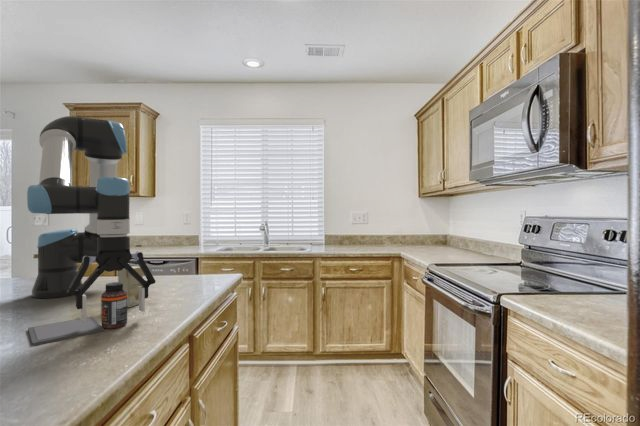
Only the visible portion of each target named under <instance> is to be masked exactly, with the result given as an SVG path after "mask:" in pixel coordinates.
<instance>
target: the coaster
mask: <svg viewBox="0 0 640 426" xmlns="http://www.w3.org/2000/svg"><path fill="white" fill-rule="evenodd" d="M86 317H87V322H82V321H81V317H80V318H76V319H69V320H65V321H59V322H53V323H48V324H41V325H36V326H30V327H27V331H28V335H29V338H30V341H31V344H32V346H38V345H43V344H47V343H52V342H57V341H63V340H68V339H72V338H76V337H77V336H78V337H81V336H87V335H91V334H96V333H101V332H104V331H105V328H103V327H102V324H100V323H99V322H98V321H97V320H96V318H95V317H93V316H86ZM86 334H87V335H86Z"/></svg>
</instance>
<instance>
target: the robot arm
mask: <svg viewBox="0 0 640 426" xmlns="http://www.w3.org/2000/svg"><path fill="white" fill-rule="evenodd" d="M38 141H39V142H38V143H39V146H40V148H42V149H41V150H42V152H41V159H40V170H39V171H40V172H39V178H38V179H39V181H38V184H31V185H29V186H28V187H27V191H26V193H27V195H26V199H27V201H26V203H27V208H28V209H27V210H28V212H30V213H31V214H42V215H43V214H44V215H45V214H46V215H57V214H58V215H60V214H61V215H62V214H63V215H64V214H66V215H67V214H73V215H74V214H87V215H88V214H89V215H88V216H89V219H88V222H89V223H88V224H87V225H86V226H84V231H82V232H79V231H78V228H69V229H67V228H66V229H60V230H53V231H47V232H43V233H40V234H39V236H38V237H37V246H36V248H37V276H36V277H35V278H36V279H35V281H34V284H33V287H32V289H31V297H32V298H35V299H52V298H61V297H67V296H75V308H76V309H77V310H80V318H81V321H82V322H87V317H88V316H87V295H86V294H85V293H86V291H88V290H89V288H90V287H91V286H92V285H93V284H94V283H95V282H96V280H98V278H99V277H100V276H101V275H102V274H103V273H104V272H109V273H110V272H114V271H121V270H122V269H125V270H127V271H128V272H129V273H130V274H131V275H132V276H133V277H134V278H135V279H136V280H137V281H138V282H139V283H140V284H141V285H142V286H140V287H139V304H138V311H140V312H142V313H143V312H145V311H146V310H145V309H146V308H145V307H146V306H145V305H146V304H145V303H146V299H148V298H149V287H150V286H151V285H153V284H156V279H155V278H154V275H153V274H152V273H151V271H150V269H149V266H148V265H147V263H146V262H145V260H144V253H143V252H142V251H136V252H134V253H131V238H130V236H129V234H130V233H131V232H130V226H131V225H130V196H131V189H130V181H129V179H127V178H123V177H118V163H119V162H120V161H122V159H123V158H122V157H123V155H126V154H127V152H128V150H127V149H128V148H127V138H126V132H125V128H124V126H123V124H122V123H121V122H118V121H113V120H109V119H100V118H99V119H98V118H90V117H81V116H76V115H75V116H74V115H68V116H63V117H62V116H61V117H59V118H57V119H54V120H53V121H50V122H49V123H48V124H46V125H45V126H44V127H43V128H42V130H41V131H40V133H39V139H38ZM74 151H79V152H80V151H81V152H84V157H85V158H86V159H87V160H88V162H89V186H80V185H79V186H77V185H76V186H73V152H74ZM132 259H133V260H134V261H136V263H137V264H138V266H140V268H141V270H142V271H143V275H144V277H145V278H146V280H145V279H144V278H142V277H141V276H140V275H139V274H138V273H137V272H136V271H135V270H134V269H133V268H132V267H131V266H132V265H130V263H129V262H130V261H131V260H132ZM93 263H97V267H96V268H95V269H94V270H93V272H92V273H91V274H90V275H89V276H88V277H87V278H86V280H84V282H83V281H82V279H83V278H84V276H85V274H86V272H87V271H88V268H89V267H90V266H91V265H92V264H93ZM78 264H81V265H80V267H78Z"/></svg>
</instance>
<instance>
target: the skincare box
mask: <svg viewBox="0 0 640 426" xmlns="http://www.w3.org/2000/svg"><path fill="white" fill-rule="evenodd" d="M130 266H131V267H132V268H133V269H134V270H135V271H136V272H137V273H138V274H139V275H140V276H141V277H142V278H143V277H144V276H143V275H144V273H143V271H142V270H141V268H140V266H139V265H138V266H137V265H136V266H135V265H130ZM117 274H118V275H117V276H118V277H117V281H118V282H122V283H123V288H122V289H123V290H125V291H126V292H127V308H132V307H134V306H139V287H140V286H142V285H141V284H140V283H139V282H138V281H137V280H136V279H135V278H134V277H133V276H132V275H131V274H130V273H129V272H128V271H127V270H125V269H122V270H121V271H118V273H117ZM143 279H144V278H143Z"/></svg>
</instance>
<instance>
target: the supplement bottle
mask: <svg viewBox="0 0 640 426" xmlns="http://www.w3.org/2000/svg"><path fill="white" fill-rule="evenodd" d="M122 288H123V283H122V282H117V281H115V282H109V283H106V284H105V288H104V289H105V291H104V292H103V293H101V295H100V297H101V299H100V302H101V303H100V307H101V308H100V309H101V310H100V315H101V316H100V317H101V322H100V323H101V324H100V325H101V326H102V327H103V328H104V329H105V330H106V329H107V330H112V329H118V328H121V327H122V328H123V327H124V326H126V325H127V324H128V307H127V292H126V291H125V290H123V289H122Z"/></svg>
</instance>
